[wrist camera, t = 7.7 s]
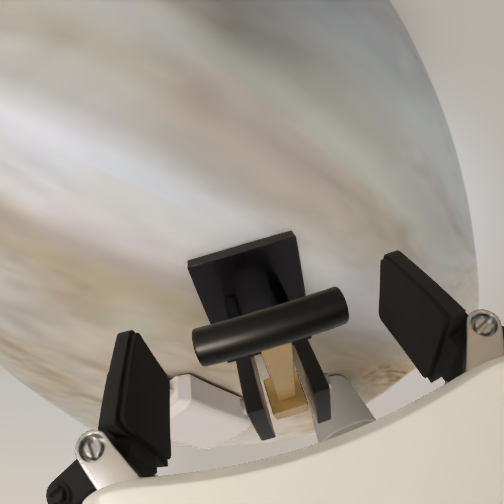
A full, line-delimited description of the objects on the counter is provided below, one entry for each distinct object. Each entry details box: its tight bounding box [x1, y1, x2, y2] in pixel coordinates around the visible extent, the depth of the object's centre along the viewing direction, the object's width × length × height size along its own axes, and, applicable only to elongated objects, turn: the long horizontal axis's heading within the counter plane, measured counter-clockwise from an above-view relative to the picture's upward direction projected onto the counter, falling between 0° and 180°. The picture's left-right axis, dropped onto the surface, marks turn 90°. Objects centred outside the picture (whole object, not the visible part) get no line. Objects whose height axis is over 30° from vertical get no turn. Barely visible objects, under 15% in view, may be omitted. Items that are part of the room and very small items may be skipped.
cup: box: [310, 375, 376, 443], centre depth 33 cm, size 8×10×8 cm
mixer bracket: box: [188, 231, 332, 440], centre depth 22 cm, size 12×9×13 cm
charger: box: [170, 374, 251, 450], centre depth 30 cm, size 5×9×15 cm
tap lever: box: [192, 287, 349, 420], centre depth 14 cm, size 13×5×2 cm, turn 13°
